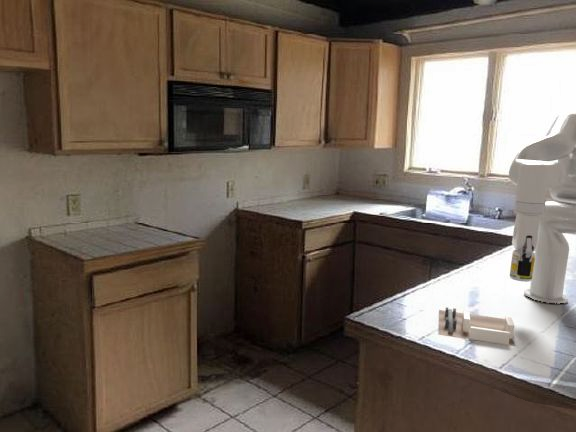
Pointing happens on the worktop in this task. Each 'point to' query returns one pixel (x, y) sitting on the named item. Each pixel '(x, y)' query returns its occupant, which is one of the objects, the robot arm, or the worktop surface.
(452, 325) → the cable run
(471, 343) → the worktop surface
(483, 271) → the worktop surface
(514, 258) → the supplement bottle
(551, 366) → the worktop surface
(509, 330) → the holder
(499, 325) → the board
